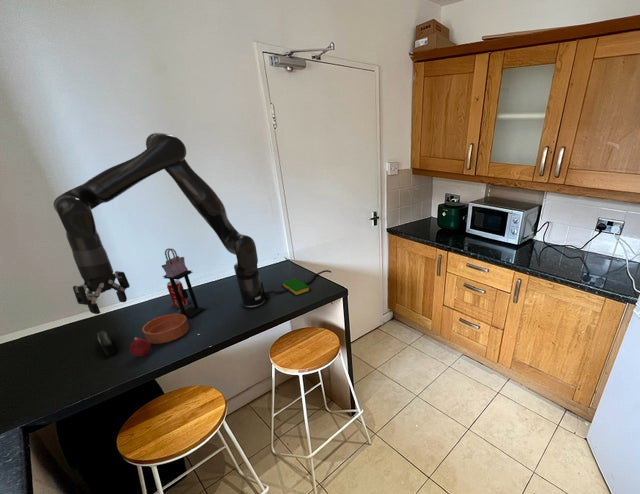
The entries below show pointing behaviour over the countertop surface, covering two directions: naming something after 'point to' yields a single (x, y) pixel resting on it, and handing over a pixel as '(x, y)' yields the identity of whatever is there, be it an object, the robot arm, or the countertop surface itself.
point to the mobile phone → (105, 343)
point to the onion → (140, 347)
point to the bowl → (165, 328)
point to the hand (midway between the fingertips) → (110, 307)
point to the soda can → (179, 287)
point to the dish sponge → (296, 286)
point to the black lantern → (177, 271)
